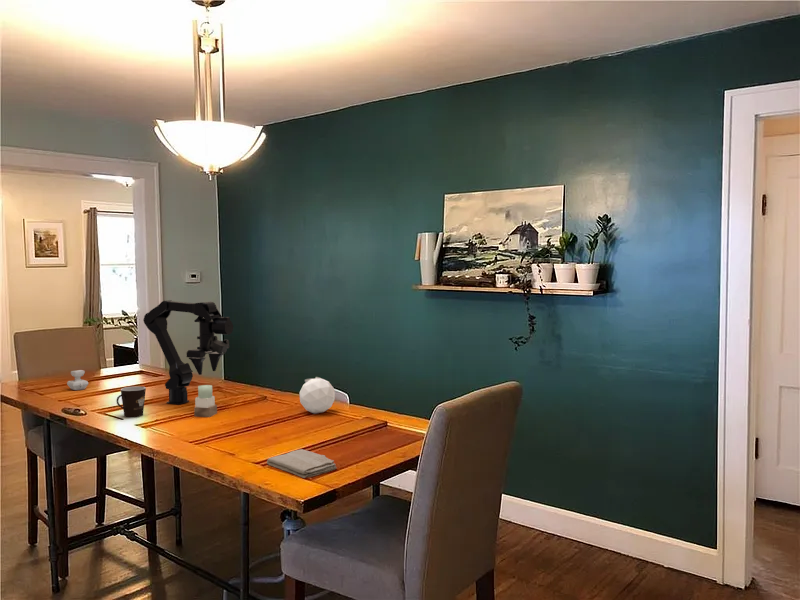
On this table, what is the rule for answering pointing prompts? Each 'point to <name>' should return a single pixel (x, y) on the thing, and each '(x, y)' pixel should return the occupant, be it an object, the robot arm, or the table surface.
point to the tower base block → (205, 411)
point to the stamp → (77, 380)
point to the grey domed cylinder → (205, 391)
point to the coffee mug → (132, 401)
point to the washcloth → (302, 463)
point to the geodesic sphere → (317, 395)
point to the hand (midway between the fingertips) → (207, 372)
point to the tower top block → (204, 402)
